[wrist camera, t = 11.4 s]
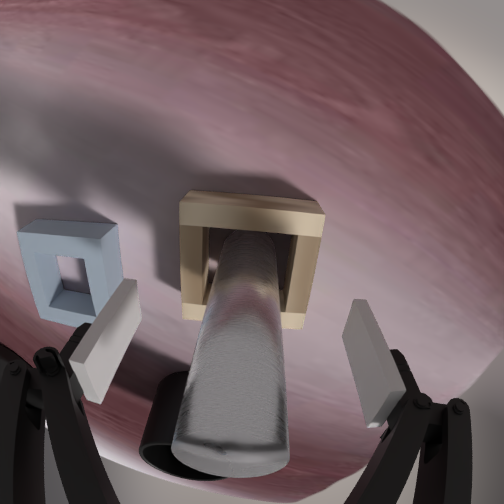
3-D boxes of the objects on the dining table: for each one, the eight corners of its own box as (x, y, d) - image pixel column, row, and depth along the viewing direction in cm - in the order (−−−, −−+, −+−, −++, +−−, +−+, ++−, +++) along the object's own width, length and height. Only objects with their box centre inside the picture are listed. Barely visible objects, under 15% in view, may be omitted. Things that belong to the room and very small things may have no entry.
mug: (236, 431, 34) (231, 491, 26) (149, 399, 32) (129, 460, 23) (276, 397, 30) (278, 468, 22) (174, 357, 28) (152, 431, 20)
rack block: (190, 296, 25) (182, 318, 22) (190, 190, 21) (179, 201, 18) (298, 306, 25) (302, 329, 22) (317, 201, 21) (325, 214, 18)
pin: (221, 273, 24) (177, 470, 9) (223, 225, 22) (163, 423, 7) (272, 277, 24) (279, 479, 9) (278, 230, 22) (300, 435, 7)
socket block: (55, 301, 26) (40, 318, 23) (36, 219, 22) (16, 231, 19) (129, 315, 26) (117, 336, 23) (117, 224, 22) (100, 239, 19)
